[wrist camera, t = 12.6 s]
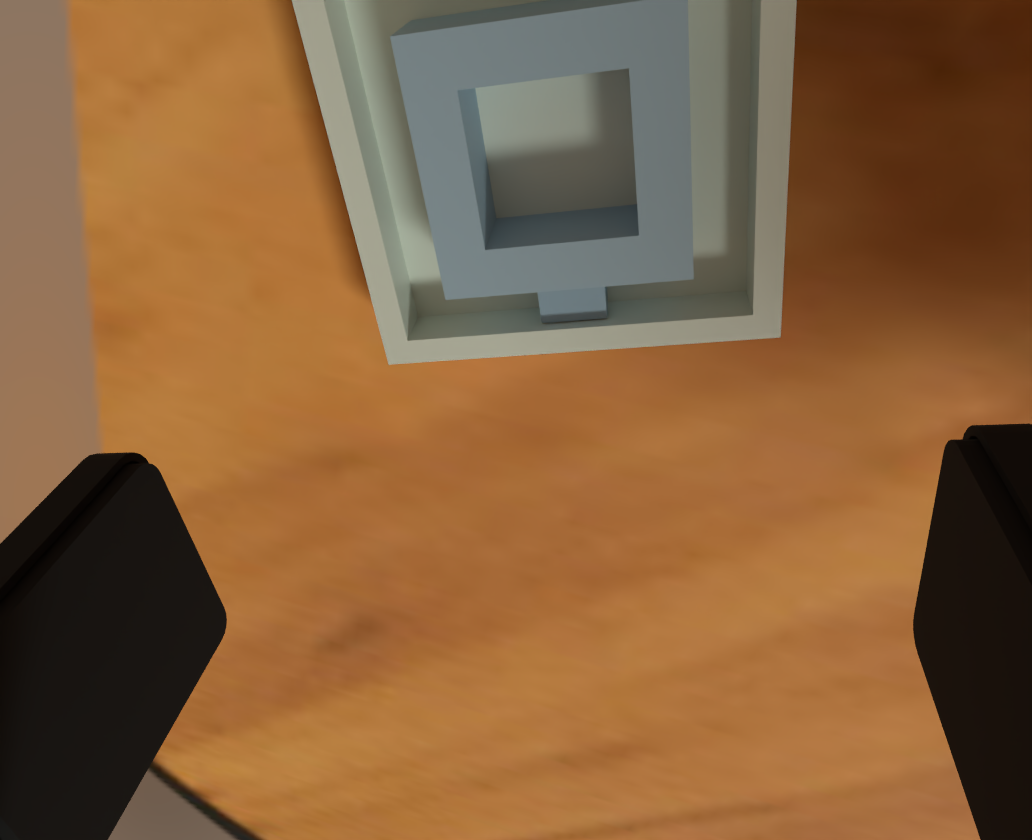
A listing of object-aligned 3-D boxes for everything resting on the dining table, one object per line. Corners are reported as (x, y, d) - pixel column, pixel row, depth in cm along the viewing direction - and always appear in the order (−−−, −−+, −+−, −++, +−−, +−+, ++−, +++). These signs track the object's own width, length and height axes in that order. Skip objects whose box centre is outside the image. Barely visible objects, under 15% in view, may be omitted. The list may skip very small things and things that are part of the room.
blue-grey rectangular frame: (681, -20, 20) (687, -6, 18) (689, 293, 25) (694, 331, 23) (411, 19, 21) (390, 36, 19) (468, 311, 26) (455, 348, 24)
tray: (768, 300, 25) (780, 337, 24) (405, 328, 28) (388, 364, 26) (785, -161, 19) (804, -164, 17) (305, -79, 21) (272, -73, 19)
